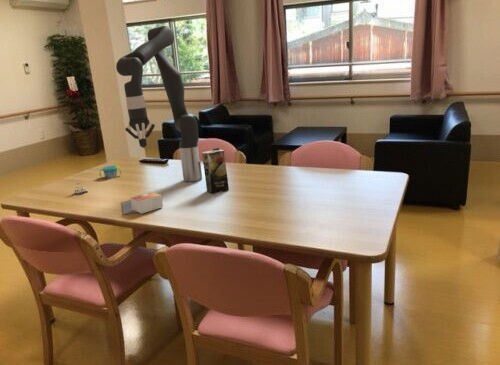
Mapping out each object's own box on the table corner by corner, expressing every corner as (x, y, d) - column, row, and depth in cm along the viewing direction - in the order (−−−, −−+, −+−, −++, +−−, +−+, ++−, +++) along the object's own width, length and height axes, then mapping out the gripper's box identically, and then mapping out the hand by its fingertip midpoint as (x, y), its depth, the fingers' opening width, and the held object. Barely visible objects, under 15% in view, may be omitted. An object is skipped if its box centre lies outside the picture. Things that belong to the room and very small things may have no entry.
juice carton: (200, 150, 187) (206, 150, 182) (219, 147, 192) (225, 147, 187) (205, 192, 191) (211, 194, 186) (224, 188, 196) (230, 190, 191)
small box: (161, 194, 171) (139, 201, 164) (163, 207, 173) (141, 214, 166) (152, 191, 177) (129, 197, 170) (153, 203, 178) (131, 210, 171)
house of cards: (70, 200, 194) (67, 185, 192) (69, 196, 202) (66, 181, 200) (90, 197, 198) (87, 182, 196) (88, 193, 205) (85, 178, 203)
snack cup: (122, 177, 232) (120, 164, 230) (121, 180, 224) (119, 167, 222) (101, 179, 229) (99, 166, 227) (100, 183, 222) (97, 169, 220)
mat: (150, 198, 188) (150, 197, 188) (155, 209, 171) (155, 208, 171) (121, 202, 184) (121, 202, 184) (123, 214, 168) (123, 214, 167)
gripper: (151, 104, 176) (157, 143, 181) (119, 108, 172) (127, 148, 177) (153, 105, 170) (160, 146, 175) (121, 109, 165) (128, 151, 170)
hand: (143, 147), depth 176 cm, fingers closed
